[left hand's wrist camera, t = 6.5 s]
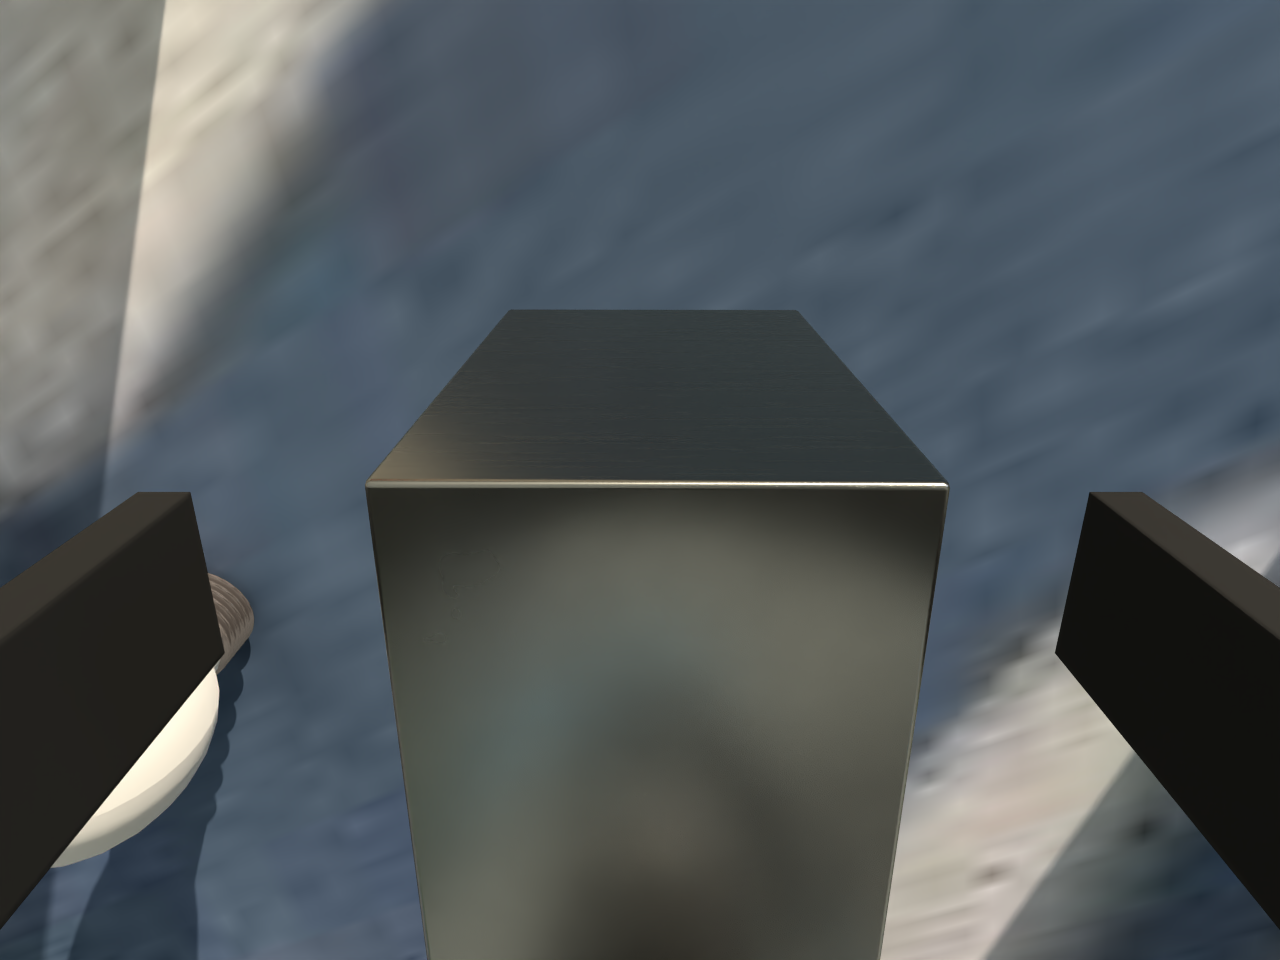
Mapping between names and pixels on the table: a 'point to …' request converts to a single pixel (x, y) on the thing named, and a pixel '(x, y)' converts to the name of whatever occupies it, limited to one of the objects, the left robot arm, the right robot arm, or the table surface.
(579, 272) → the table surface
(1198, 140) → the table surface
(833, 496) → the bar
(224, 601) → the light bulb
